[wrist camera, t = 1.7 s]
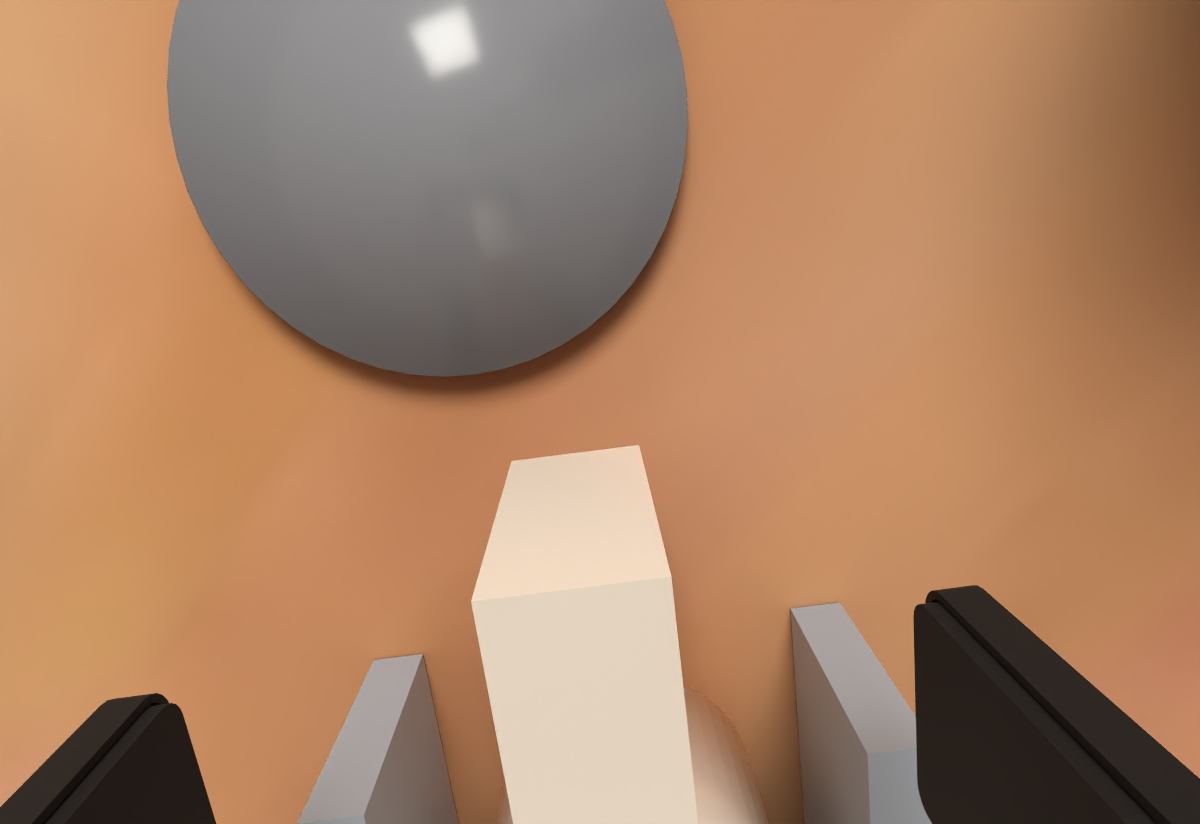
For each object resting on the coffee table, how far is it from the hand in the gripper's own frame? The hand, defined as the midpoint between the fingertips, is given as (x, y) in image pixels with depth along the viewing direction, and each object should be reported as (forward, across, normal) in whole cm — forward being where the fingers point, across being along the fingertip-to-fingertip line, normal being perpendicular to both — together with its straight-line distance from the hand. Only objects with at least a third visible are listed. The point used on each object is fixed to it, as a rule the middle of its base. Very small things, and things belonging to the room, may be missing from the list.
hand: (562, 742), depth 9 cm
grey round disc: (+8, +2, -8) cm, 12 cm away
